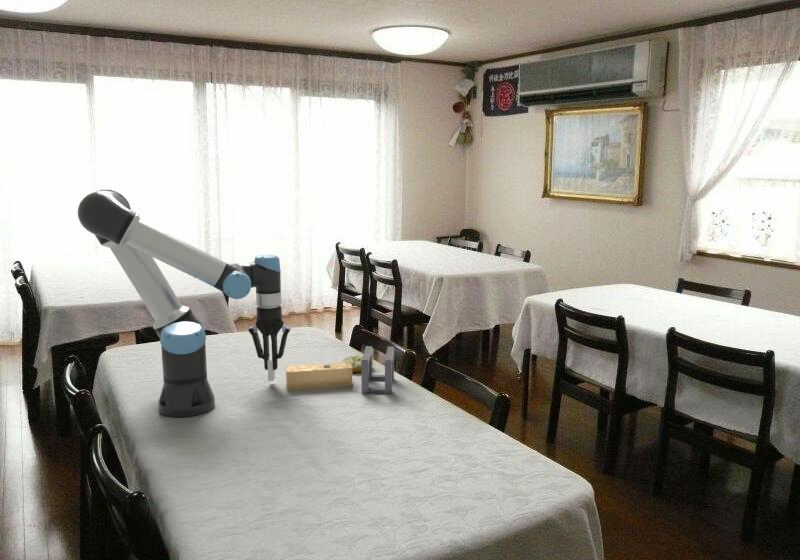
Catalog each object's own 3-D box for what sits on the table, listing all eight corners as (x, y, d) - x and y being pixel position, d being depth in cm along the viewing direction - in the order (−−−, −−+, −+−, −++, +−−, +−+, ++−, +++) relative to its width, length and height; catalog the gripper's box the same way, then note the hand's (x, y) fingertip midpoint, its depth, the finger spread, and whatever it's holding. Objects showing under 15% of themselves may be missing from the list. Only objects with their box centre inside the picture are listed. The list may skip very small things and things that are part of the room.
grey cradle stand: (391, 394, 195) (391, 360, 193) (361, 393, 196) (361, 359, 194) (393, 378, 209) (394, 346, 208) (366, 377, 210) (365, 346, 208)
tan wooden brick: (287, 391, 198) (286, 371, 197) (286, 384, 204) (285, 365, 203) (352, 386, 203) (352, 367, 201) (349, 380, 208) (349, 361, 207)
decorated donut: (334, 368, 220) (334, 357, 219) (361, 362, 227) (360, 352, 226) (352, 376, 212) (352, 365, 211) (378, 369, 219) (378, 358, 218)
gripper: (292, 303, 203) (294, 375, 207) (251, 302, 203) (253, 375, 207) (287, 308, 195) (289, 383, 200) (244, 308, 196) (247, 383, 200)
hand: (271, 379), depth 204 cm, fingers closed
